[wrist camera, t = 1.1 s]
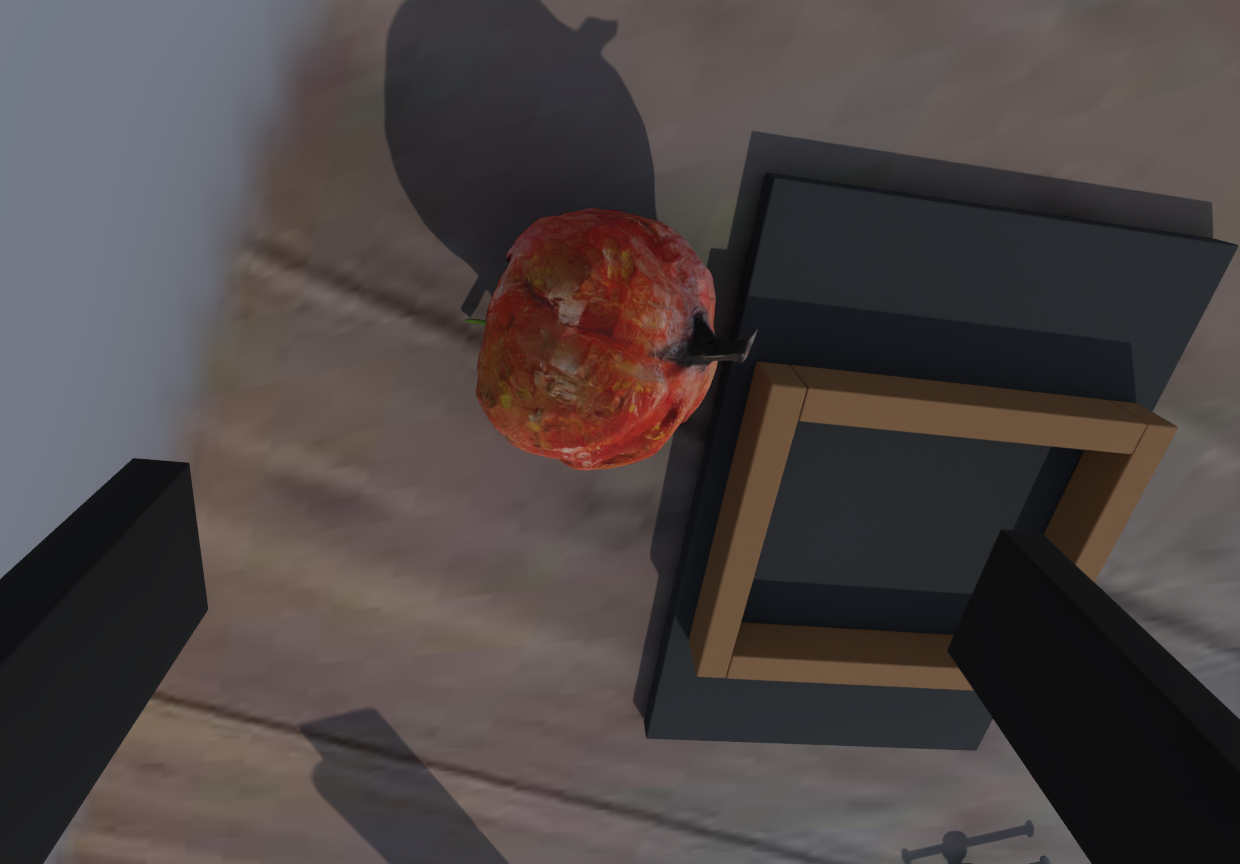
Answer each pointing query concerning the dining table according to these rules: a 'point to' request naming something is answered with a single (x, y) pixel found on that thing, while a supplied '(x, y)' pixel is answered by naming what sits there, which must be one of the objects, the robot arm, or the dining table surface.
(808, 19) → the dining table surface
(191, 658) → the dining table surface
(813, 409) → the back pad
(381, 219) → the dining table surface
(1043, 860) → the clamp
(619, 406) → the red round lump
